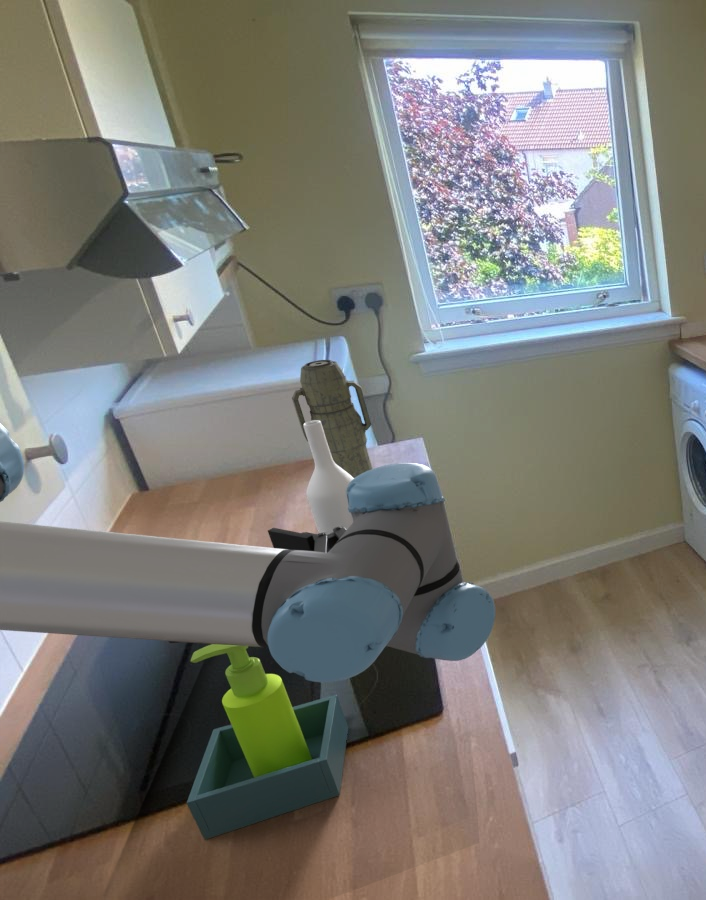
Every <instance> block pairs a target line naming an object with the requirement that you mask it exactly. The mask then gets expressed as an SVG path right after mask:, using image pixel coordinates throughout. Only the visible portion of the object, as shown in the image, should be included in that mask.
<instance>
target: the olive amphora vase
mask: <svg viewBox="0 0 706 900" xmlns="http://www.w3.org/2000/svg"><path fill="white" fill-rule="evenodd" d="M299 382H300V386H301V387H299V389H296V390H295V391H294V393H293V395H292V397H291V400H292V404H293V407H294V410H295V413H296V416H297V419H298V422H299V426H300V428H301V431H302V434H303V436H304V438H305V440H306V441H307V443H309V442H308V439H307V436H306V433H305V430H304V426H303V424H304V423H306V420H305V416H304V414H303V410H302V408H301V404H300V401H299V397H300V396H302V397H304V398H305V401H306V404H307V406H308V408H309V414H310V421H313V420H319V421H321V424H322V427H323V430H324V434H325V437H326V440H327V443H328V446H329V450H330V453H331V456H332V458H333V461H334V462H335V463H336V464H337V465H338V466H339V467H341V468H342V469H343V470H345V471H346V472H347V473H348V474H350V475H351V476H352V477H353V478H355V477H357V476H358V475H360V474H362V473H364V472H366V471H369V470H371V469H374V468H373V465H372V461H371V458H370V455H369V451H368V447H367V442H368V437H367V434H366V431H368V430H369V428H371V426H372V422H371V418H370V415H369V411H368V407H367V404H366V401H365V400H366V399H365V396H364V391H363V387H362V386H361V385H360V384H359V383H357V382H356V381H354V380H347V377H346V375H345V374H344V372H343V369H342V368H341V366H340V365H339V363H338V362H337V361H335V360H331V359H319V360H313V361H309V362H307V363H305V364H304V365H302V366H301V367H300V377H299ZM350 387H353V388H354V389H355V393H356V397H357V400H358V403H359V407H360V411H361V415H362V416H361V415H360V414H359V412H358V411H357V409H356V408H355V405H354V403H353V402H352V399H351V398H352V394H351V391H350ZM362 418H363V419H362ZM362 420H363V421H364V422H363V421H362Z"/></svg>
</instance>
